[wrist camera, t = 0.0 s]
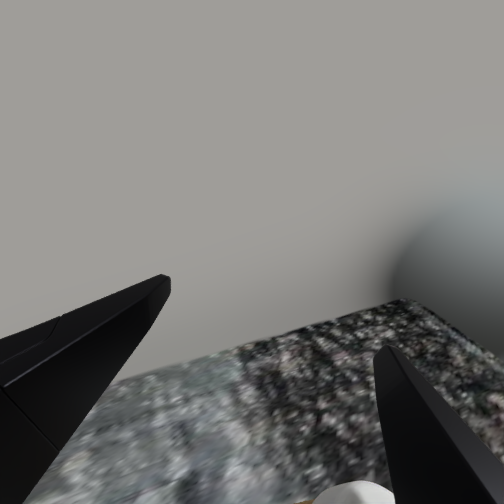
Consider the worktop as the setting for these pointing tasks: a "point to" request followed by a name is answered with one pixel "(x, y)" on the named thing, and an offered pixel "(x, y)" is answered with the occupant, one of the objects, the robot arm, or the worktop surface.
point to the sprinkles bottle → (354, 494)
